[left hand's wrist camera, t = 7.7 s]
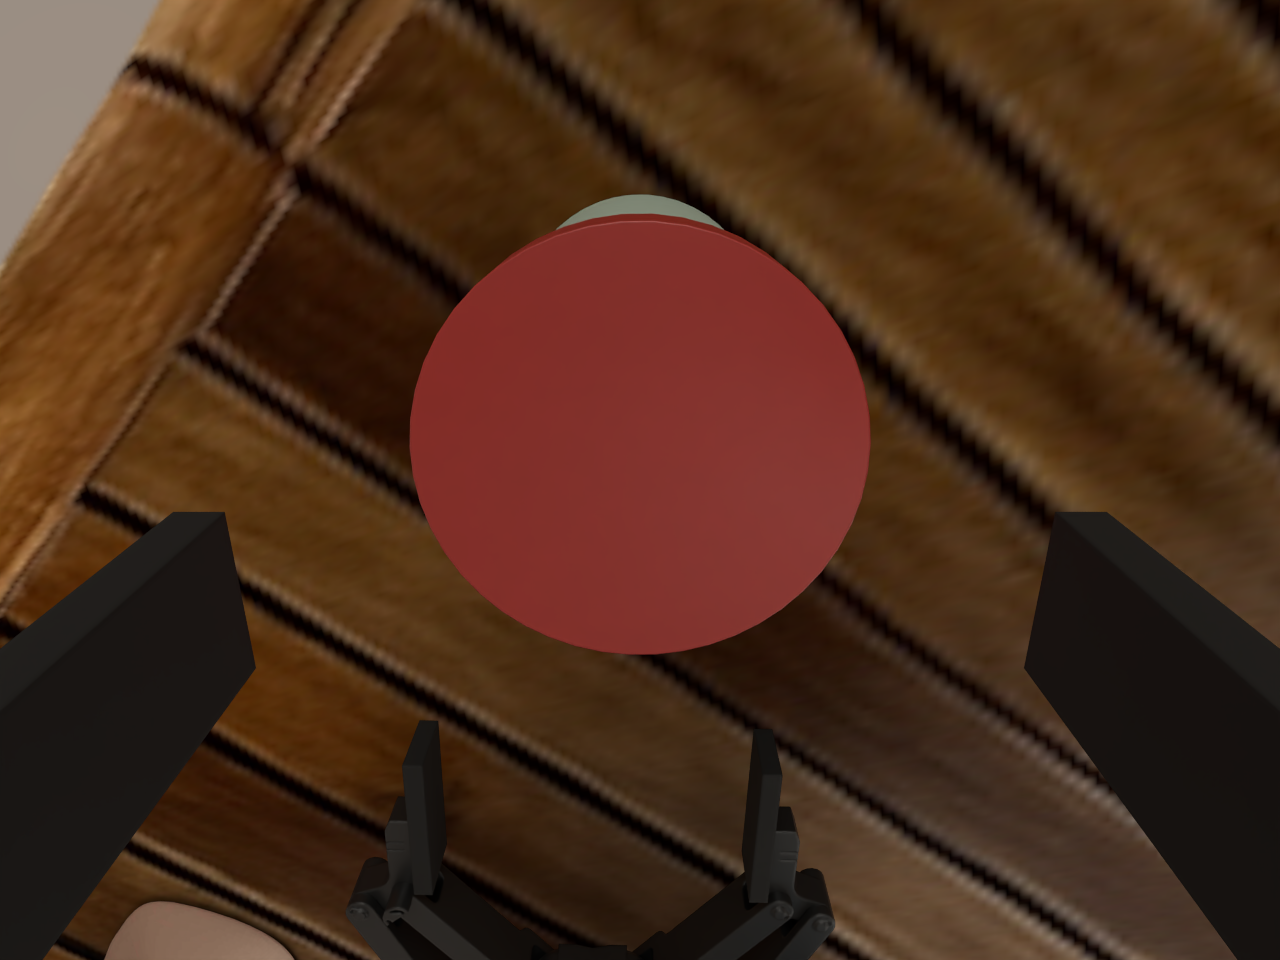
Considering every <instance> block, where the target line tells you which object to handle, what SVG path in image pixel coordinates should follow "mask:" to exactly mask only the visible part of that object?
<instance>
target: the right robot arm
mask: <svg viewBox="0 0 1280 960" xmlns="http://www.w3.org/2000/svg"><path fill="white" fill-rule="evenodd" d="M402 770H403V781H404V792H405V797H400V796H398V798H397V800H396V803H395V805H394V808H393V811H392V813H391V816H390V819H389V821H388V824H387V827H386V829H385V838H386V848H387V857H388V862H387V861H386V860H385V859H382V858H379V857H372V858H369V859H367V860H366V861H365V863H364V865H363V867H362V870H361V872H360V875H359V877H358V880H357V883H356V885H355V888H354V891H353V893H352V896H351V898H350V901H349V904H348V906H347V909H346V916H347V918H348V919H349V920H350V922H351V923H352V924H353V925H354V927H355V928H356V929H357V930H358V932H359V933H360V934H361V935H362V937H363V938H364V939H365V940H366V942H367V943H368V944H369V945H370V947H371V948H372V949H373V950H374V952H375V953H376V954H377V955H378V957H379V958H380V959H381V960H808V959H809V958H810V957H811V956H812V954H813V953H814V952H815V951H816V950H817V948H818V947H819V946H820V945H821V944H822V943H823V941H824V940H825V939H826V938H827V937H828V936H829V934H830V933H831V932H832V931H833V929H834V928H835V920H834V916H833V912H832V908H831V904H830V900H829V896H828V892H827V888H826V884H825V880H824V876H823V874H822V872H821V871H819V870H818V869H814V868H808V869H805V870H802V871H801V872H798V871H796V866H797V859H798V851H799V844H800V841H799V837H798V832H797V828H796V824H795V819H794V815H793V813H792V810H791V808H790V807H779V801H780V793H781V784H782V771H781V767H780V762H779V758H778V753H777V749H776V744H775V740H774V736H773V731H772V729H754V732H753V742H752V752H751V762H750V772H749V782H748V792H747V803H746V813H745V823H744V833H743V843H742V856H743V863H744V870H745V872H744V873H743V874H742V875H740V876H739V877H738V878H737V879H735V880H734V881H733V882H732V883H730V884H729V885H728V886H727V887H725V888H724V889H723V890H722V891H720V892H719V893H718V894H717V895H715V896H714V897H713V898H712V899H710V900H709V901H708V902H706V903H705V904H704V905H703V906H701V907H700V908H699V909H698V910H696V911H695V912H694V913H693V914H691V915H690V916H689V917H688V918H686V919H685V920H684V921H683V922H681V923H680V924H679V925H678V926H676V927H675V928H674V929H673V930H671V931H670V932H669V933H667V934H665V933H664V932H662V931H659V932H657V933H655V934H654V935H653V936H652V937H650V938H649V939H648V940H647V941H645V942H644V943H643V944H642V945H641V946H639V947H638V948H637V949H636V950H634V951H633V952H630V951H627V945H608V946H602V947H596V948H590V947H586V946H581V945H577V944H559V949H557V950H554V949H553V948H551V947H550V946H549V945H548V944H547V943H546V942H545V941H543V940H542V939H541V938H540V937H539V936H538V935H536V934H535V933H534V932H533V931H532V930H531V929H529V928H524V929H522V930H521V931H520V930H518V929H517V928H516V927H515V926H514V925H513V924H511V923H510V922H509V921H508V920H507V919H506V918H504V917H503V916H502V915H501V914H500V913H499V912H497V911H496V910H495V909H494V908H493V907H492V906H490V905H489V904H488V903H487V902H486V901H485V900H483V899H482V898H481V897H480V896H479V895H478V894H477V893H475V892H474V891H473V890H472V889H471V888H470V887H468V886H467V885H466V884H465V883H464V882H463V881H461V880H460V879H459V878H458V877H457V876H456V875H454V874H453V873H452V872H451V871H450V870H449V869H447V868H446V867H445V866H444V865H443V864H442V859H443V856H444V852H445V848H446V845H447V839H446V825H445V811H444V797H443V783H442V768H441V754H440V740H439V726H438V721H424V720H420V721H419V723H418V726H417V729H416V731H415V734H414V736H413V739H412V742H411V744H410V747H409V749H408V752H407V755H406V757H405V760H404V762H403V765H402Z"/></svg>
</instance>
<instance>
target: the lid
mask: <svg viewBox="0 0 1280 960" xmlns="http://www.w3.org/2000/svg"><path fill="white" fill-rule="evenodd" d="M870 445H871V439H870V415H869V409H868V404H867V398H866V393H865V387H864V384H863V381H862V378H861V375H860V372H859V369H858V366H857V363H856V360H855V357H854V355H853V353H852V351H851V349H850V347H849V345H848V343H847V341H846V339H845V337H844V335H843V333H842V331H841V330H840V328H839V327H838V325H837V324H836V323H835V321H834V320H833V318H832V317H831V315H830V314H829V313H828V311H827V310H826V308H825V307H824V305H823V304H822V303H821V302H820V301H819V300H818V299H817V298H816V297H815V296H814V295H813V294H812V293H811V291H810V290H809V289H808V288H807V287H806V286H805V285H804V284H803V283H802V282H801V281H800V280H799V279H798V278H796V277H795V276H794V275H793V274H792V273H791V272H789V271H788V270H787V269H786V268H784V267H783V266H782V265H781V264H780V263H778V262H777V261H776V260H775V259H773V258H772V257H771V256H770V255H768V254H767V253H766V252H764V251H763V250H761V249H759V248H758V247H756V246H754V245H753V244H751V243H749V242H748V241H746V240H744V239H743V238H741V237H739V236H737V235H734V234H732V233H730V232H727V231H725V230H722V229H720V228H718V227H715V226H713V225H710V224H706V223H702V222H699V221H695V220H691V219H687V218H684V217H676V216H669V215H661V214H618V215H611V216H605V217H598V218H592V219H588V220H585V221H582V222H578V223H575V224H571V225H568V226H565V227H562V228H560V229H557V230H555V231H553V232H551V233H549V234H546V235H544V236H542V237H540V238H537V239H535V240H534V241H532V242H531V243H529V244H528V245H526V246H524V247H523V248H521V249H520V250H518V251H516V252H515V253H513V254H512V255H510V256H509V257H508V258H507V259H506V260H504V261H503V262H502V263H501V264H500V265H498V266H497V267H496V268H495V269H494V270H492V271H491V272H490V273H489V274H488V275H487V276H485V277H484V278H483V279H482V280H481V281H480V282H478V283H477V284H476V285H475V286H474V287H473V288H472V289H471V290H470V292H469V293H468V294H467V295H466V296H465V297H464V298H463V299H462V300H461V302H460V303H459V304H458V305H457V306H456V307H455V308H454V310H453V311H452V313H451V314H450V316H449V317H448V319H447V320H446V322H445V323H444V325H443V326H442V328H441V329H440V331H439V332H438V334H437V335H436V337H435V339H434V342H433V344H432V346H431V348H430V350H429V352H428V354H427V356H426V358H425V360H424V363H423V366H422V369H421V372H420V376H419V379H418V382H417V385H416V388H415V393H414V399H413V405H412V411H411V418H410V454H411V462H412V470H413V477H414V481H415V485H416V488H417V492H418V496H419V500H420V503H421V506H422V508H423V511H424V513H425V516H426V518H427V520H428V523H429V525H430V528H431V530H432V531H433V533H434V535H435V537H436V538H437V540H438V542H439V544H440V545H441V547H442V549H443V551H444V552H445V554H446V555H447V556H448V558H449V559H450V560H451V562H452V563H453V564H454V566H455V567H456V568H457V570H458V571H459V572H460V574H461V575H462V576H463V577H464V578H465V579H466V580H467V581H468V582H469V583H470V584H471V585H472V586H473V587H474V588H475V589H476V590H477V591H478V592H479V593H480V594H481V595H482V596H483V597H485V598H486V599H487V600H488V601H490V602H491V603H492V604H493V605H495V606H496V607H497V608H498V609H500V610H501V611H502V612H504V613H505V614H507V615H509V616H510V617H512V618H513V619H515V620H517V621H518V622H520V623H521V624H523V625H525V626H527V627H529V628H531V629H533V630H535V631H537V632H539V633H541V634H544V635H546V636H548V637H550V638H553V639H556V640H559V641H562V642H565V643H568V644H571V645H574V646H578V647H582V648H587V649H591V650H596V651H601V652H609V653H619V654H662V653H670V652H679V651H685V650H689V649H693V648H698V647H702V646H706V645H710V644H713V643H716V642H718V641H721V640H724V639H727V638H729V637H732V636H735V635H737V634H739V633H741V632H743V631H745V630H747V629H749V628H751V627H753V626H755V625H757V624H759V623H761V622H762V621H764V620H765V619H767V618H768V617H770V616H772V615H773V614H775V613H776V612H778V611H779V610H781V609H782V608H783V607H785V606H786V605H787V604H788V603H789V602H791V601H792V600H793V599H794V598H795V597H797V596H798V595H799V594H800V593H801V592H803V591H804V590H805V589H806V588H807V586H808V585H809V584H810V583H811V582H812V581H813V580H814V579H815V578H816V577H817V576H818V575H819V574H820V573H821V571H822V570H823V569H824V567H825V566H826V565H827V563H828V562H829V561H830V559H831V558H832V556H833V555H834V554H835V552H836V551H837V550H838V548H839V546H840V544H841V542H842V541H843V539H844V537H845V535H846V533H847V531H848V530H849V528H850V526H851V524H852V521H853V519H854V516H855V514H856V511H857V508H858V506H859V503H860V501H861V498H862V494H863V490H864V485H865V481H866V477H867V473H868V465H869V455H870Z"/></svg>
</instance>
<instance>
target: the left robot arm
mask: <svg viewBox="0 0 1280 960" xmlns="http://www.w3.org/2000/svg"><path fill="white" fill-rule="evenodd" d="M255 669H256V666H255V661H254V656H253V651H252V646H251V641H250V636H249V631H248V626H247V621H246V616H245V611H244V606H243V601H242V596H241V591H240V586H239V581H238V576H237V571H236V567H235V562H234V557H233V552H232V547H231V542H230V537H229V532H228V527H227V522H226V517H225V512H173V513H171V514H170V515H169V516H168V517H166V518H165V519H164V520H163V521H161V522H160V523H159V524H158V525H156V526H155V527H154V528H152V529H151V530H150V531H149V532H147V533H146V534H145V535H144V536H142V537H141V538H140V539H139V540H137V541H136V542H135V543H133V544H132V545H131V546H130V547H128V548H127V549H126V550H125V551H123V552H122V553H121V554H120V555H118V556H117V557H116V558H115V559H113V560H112V561H111V562H109V563H108V564H107V565H106V566H104V567H103V568H102V569H101V570H99V571H98V572H97V573H96V574H94V575H93V576H92V577H90V578H89V579H88V580H87V581H85V582H84V583H83V584H82V585H80V586H79V587H78V588H77V589H75V590H74V591H73V592H71V593H70V594H69V595H68V596H66V597H65V598H64V599H63V600H61V601H60V602H59V603H58V604H56V605H55V606H54V607H53V608H51V609H50V610H49V611H47V612H46V613H45V614H44V615H42V616H41V617H40V618H39V619H37V620H36V621H35V622H34V623H32V624H31V625H30V626H28V627H27V628H26V629H25V630H23V631H22V632H21V633H20V634H18V635H17V636H16V637H15V638H13V639H12V640H11V641H10V642H8V643H7V644H6V645H4V646H3V647H2V648H1V649H0V960H43V958H44V957H45V956H46V954H47V953H48V951H49V950H50V949H51V947H52V946H53V945H54V943H55V942H56V940H57V939H58V938H59V936H60V935H61V934H62V932H63V931H64V930H65V928H66V927H67V925H68V924H69V923H70V921H71V920H72V919H73V917H74V916H75V915H76V913H77V912H78V910H79V909H80V908H81V906H82V905H83V904H84V902H85V901H86V899H87V898H88V897H89V895H90V894H91V893H92V891H93V890H94V889H95V887H96V886H97V884H98V883H99V882H100V880H101V879H102V878H103V876H104V875H105V874H106V872H107V871H108V869H109V868H110V867H111V865H112V864H113V863H114V861H115V860H116V858H117V857H118V856H119V854H120V853H121V852H122V850H123V849H124V848H125V846H126V845H127V843H128V842H129V841H130V839H131V838H132V837H133V835H134V834H135V833H136V831H137V830H138V828H139V827H140V826H141V824H142V823H143V822H144V820H145V819H146V817H147V816H148V815H149V813H150V812H151V811H152V809H153V808H154V807H155V805H156V804H157V802H158V801H159V800H160V798H161V797H162V796H163V794H164V793H165V792H166V790H167V789H168V787H169V786H170V785H171V783H172V782H173V781H174V779H175V778H176V777H177V775H178V774H179V772H180V771H181V770H182V768H183V767H184V766H185V764H186V763H187V761H188V760H189V759H190V757H191V756H192V755H193V753H194V752H195V751H196V749H197V748H198V746H199V745H200V744H201V742H202V741H203V740H204V738H205V737H206V736H207V734H208V733H209V731H210V730H211V729H212V727H213V726H214V725H215V723H216V722H217V720H218V719H219V718H220V716H221V715H222V714H223V712H224V711H225V710H226V708H227V707H228V705H229V704H230V703H231V701H232V700H233V699H234V697H235V696H236V695H237V693H238V692H239V690H240V689H241V688H242V686H243V685H244V684H245V682H246V681H247V679H248V678H249V677H250V675H251V674H252V673H253V671H254V670H255ZM1024 669H1025V670H1026V671H1027V673H1028V674H1029V675H1030V677H1031V678H1032V679H1033V681H1034V682H1035V684H1036V685H1037V686H1038V688H1039V689H1040V690H1041V692H1042V693H1043V695H1044V696H1045V697H1046V699H1047V700H1048V701H1049V703H1050V704H1051V705H1052V707H1053V708H1054V710H1055V711H1056V712H1057V714H1058V715H1059V716H1060V718H1061V719H1062V720H1063V722H1064V723H1065V725H1066V726H1067V727H1068V729H1069V730H1070V731H1071V733H1072V734H1073V736H1074V737H1075V738H1076V740H1077V741H1078V742H1079V744H1080V745H1081V746H1082V748H1083V749H1084V751H1085V752H1086V753H1087V755H1088V756H1089V757H1090V759H1091V760H1092V761H1093V763H1094V764H1095V766H1096V767H1097V768H1098V770H1099V771H1100V772H1101V774H1102V775H1103V777H1104V778H1105V779H1106V781H1107V782H1108V783H1109V785H1110V786H1111V787H1112V789H1113V790H1114V792H1115V793H1116V794H1117V796H1118V797H1119V798H1120V800H1121V801H1122V802H1123V804H1124V805H1125V807H1126V808H1127V809H1128V811H1129V812H1130V813H1131V815H1132V816H1133V818H1134V819H1135V820H1136V822H1137V823H1138V824H1139V826H1140V827H1141V828H1142V830H1143V831H1144V833H1145V834H1146V835H1147V837H1148V838H1149V839H1150V841H1151V842H1152V843H1153V845H1154V846H1155V848H1156V849H1157V850H1158V852H1159V853H1160V854H1161V856H1162V857H1163V858H1164V860H1165V861H1166V863H1167V864H1168V865H1169V867H1170V868H1171V869H1172V871H1173V872H1174V874H1175V875H1176V876H1177V878H1178V879H1179V880H1180V882H1181V883H1182V884H1183V886H1184V887H1185V889H1186V890H1187V891H1188V893H1189V894H1190V895H1191V897H1192V898H1193V899H1194V901H1195V902H1196V904H1197V905H1198V906H1199V908H1200V909H1201V910H1202V912H1203V913H1204V915H1205V916H1206V917H1207V919H1208V920H1209V921H1210V923H1211V924H1212V925H1213V927H1214V928H1215V930H1216V931H1217V932H1218V934H1219V935H1220V936H1221V938H1222V939H1223V940H1224V942H1225V943H1226V945H1227V946H1228V947H1229V949H1230V950H1231V951H1232V953H1233V954H1234V956H1235V957H1236V958H1237V960H1280V649H1279V648H1278V647H1277V646H1276V645H1274V644H1273V643H1272V642H1270V641H1269V640H1268V639H1267V638H1265V637H1264V636H1263V635H1262V634H1260V633H1259V632H1258V631H1257V630H1255V629H1254V628H1253V627H1252V626H1250V625H1249V624H1248V623H1246V622H1245V621H1244V620H1243V619H1241V618H1240V617H1239V616H1238V615H1236V614H1235V613H1234V612H1233V611H1231V610H1230V609H1229V608H1227V607H1226V606H1225V605H1224V604H1222V603H1221V602H1220V601H1219V600H1217V599H1216V598H1215V597H1214V596H1212V595H1211V594H1210V593H1209V592H1207V591H1206V590H1205V589H1203V588H1202V587H1201V586H1200V585H1198V584H1197V583H1196V582H1195V581H1193V580H1192V579H1191V578H1190V577H1188V576H1187V575H1186V574H1184V573H1183V572H1182V571H1181V570H1179V569H1178V568H1177V567H1176V566H1174V565H1173V564H1172V563H1171V562H1169V561H1168V560H1167V559H1165V558H1164V557H1163V556H1162V555H1160V554H1159V553H1158V552H1157V551H1155V550H1154V549H1153V548H1152V547H1150V546H1149V545H1148V544H1147V543H1145V542H1144V541H1143V540H1141V539H1140V538H1139V537H1138V536H1136V535H1135V534H1134V533H1133V532H1131V531H1130V530H1129V529H1128V528H1126V527H1125V526H1124V525H1122V524H1121V523H1120V522H1119V521H1117V520H1116V519H1115V518H1114V517H1112V516H1111V515H1110V514H1109V513H1107V512H1055V517H1054V522H1053V527H1052V532H1051V537H1050V542H1049V547H1048V552H1047V557H1046V562H1045V566H1044V571H1043V576H1042V581H1041V586H1040V591H1039V596H1038V601H1037V606H1036V611H1035V616H1034V621H1033V626H1032V631H1031V636H1030V641H1029V646H1028V651H1027V656H1026V661H1025V666H1024Z"/></svg>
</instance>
